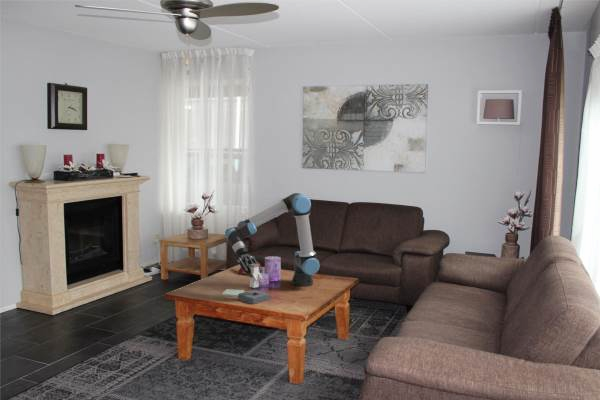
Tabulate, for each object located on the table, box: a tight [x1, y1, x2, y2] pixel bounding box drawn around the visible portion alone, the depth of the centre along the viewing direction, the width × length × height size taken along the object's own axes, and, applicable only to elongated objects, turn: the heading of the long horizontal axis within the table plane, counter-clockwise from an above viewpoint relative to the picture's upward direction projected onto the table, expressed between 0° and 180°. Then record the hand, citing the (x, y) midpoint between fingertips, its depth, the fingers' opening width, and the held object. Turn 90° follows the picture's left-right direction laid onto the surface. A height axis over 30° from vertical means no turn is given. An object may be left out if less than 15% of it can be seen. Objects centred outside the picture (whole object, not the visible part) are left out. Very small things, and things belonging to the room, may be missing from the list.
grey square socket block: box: [237, 289, 271, 305], centre depth 329 cm, size 14×14×4 cm
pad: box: [221, 288, 245, 298], centre depth 341 cm, size 12×12×1 cm
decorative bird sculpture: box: [236, 261, 262, 275], centre depth 395 cm, size 28×9×15 cm
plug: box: [249, 263, 260, 289], centre depth 328 cm, size 5×5×14 cm
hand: (258, 280), depth 325 cm, fingers closed on plug, 4 cm apart
